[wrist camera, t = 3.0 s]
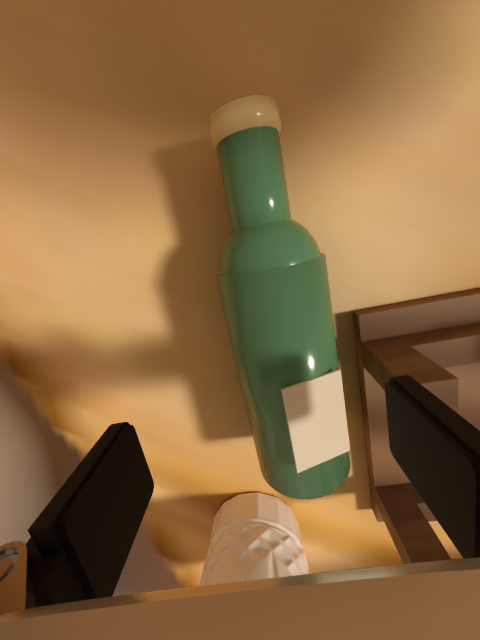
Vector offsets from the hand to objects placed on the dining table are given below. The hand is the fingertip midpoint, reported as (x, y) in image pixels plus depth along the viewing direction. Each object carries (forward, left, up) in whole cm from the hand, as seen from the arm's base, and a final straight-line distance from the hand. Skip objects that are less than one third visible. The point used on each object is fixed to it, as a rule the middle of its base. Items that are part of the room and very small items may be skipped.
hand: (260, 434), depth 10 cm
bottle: (-2, +1, -8) cm, 8 cm away
